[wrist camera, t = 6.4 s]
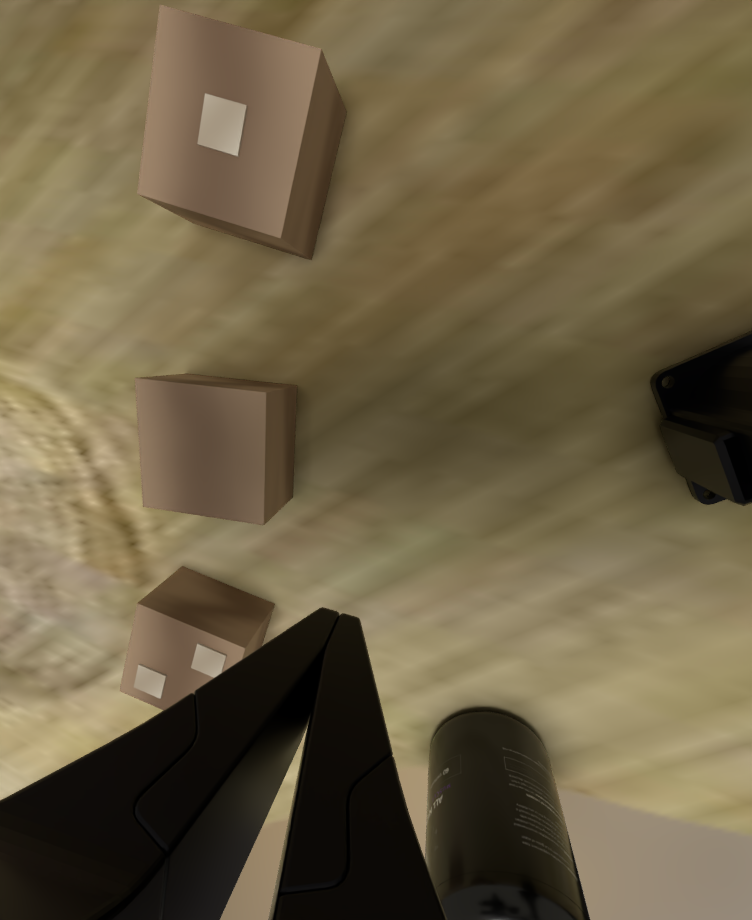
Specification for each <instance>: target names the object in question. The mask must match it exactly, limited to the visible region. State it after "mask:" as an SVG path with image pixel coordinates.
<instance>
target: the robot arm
mask: <svg viewBox="0 0 752 920" xmlns="http://www.w3.org/2000/svg"><path fill="white" fill-rule="evenodd" d="M667 376H668V377H669V379H670V383H669V385H668V386H666V387H663V386H662V380H663V379H664V378H665V377H667ZM651 387H652V389H653V392H654V395H655V397H656V400H657V403H658V405H659V408H660V411H661V413H662V416H663V420H662V421H661V424H660V429H661V432H662V434H663V437H664V440H665V442H666V445H667V448H668V450H669V453H670V455H671V458H672V461H673V463H674V466H675V469H676V471H677V473H678V474H679V475H681V476H683V477H685V478H686V480H687V483H688V485H689V488H690V490H691V493H692V496H693V497H694V499H696V500H697V501H699V502H701V503H703V504H707V505H710V504H714V503H717V502H720V501H723V500H726V499H728V500H730V501H732V502H734V503H737V504H740V505H743V506H745V505H748V504H751V503H752V331H751V332H749V333H746V334H744V335H742V336H740V337H737V338H735V339H733V340H730V341H728V342H726V343H723V344H721V345H719V346H716V347H714V348H712V349H710V350H707V351H705V352H703V353H700V354H698V355H696V356H693V357H691V358H689V359H686V360H684V361H682V362H680V363H677V364H675V365H673V366H670V367H668V368H666V369H663V370H661V371H659V372H658V373H656V374H655V375H654V376H653V378H652V380H651ZM707 489H708V490H710V493H709V495H707V496H704V497H703V493H704V491H705V490H707ZM307 725H308V728H307ZM306 728H307V732H306V737H305V742H304V747H303V752H302V757H301V761H300V766H299V771H298V776H297V781H296V786H295V791H294V796H293V801H292V806H291V811H290V816H289V821H288V826H287V831H286V835H285V840H284V845H283V850H282V855H281V860H280V865H279V870H278V875H277V880H276V885H275V890H274V895H273V900H272V904H271V910H270V915H269V919H268V920H447V918H446V915H445V913H444V910H443V907H442V905H441V902H440V899H439V896H438V894H437V891H436V888H435V886H434V883H433V880H432V877H431V875H430V872H429V869H428V867H427V864H426V861H425V859H424V856H423V853H422V851H421V847H420V844H419V842H418V839H417V836H416V833H415V831H414V827H413V824H412V821H411V818H410V815H409V812H408V809H407V806H406V802H405V798H404V794H403V791H402V787H401V784H400V781H399V776H398V772H397V768H396V764H395V760H394V757H393V756H392V755H393V752H392V748H391V744H390V740H389V736H388V732H387V728H386V724H385V720H384V716H383V712H382V707H381V703H380V699H379V695H378V691H377V687H376V683H375V679H374V675H373V671H372V667H371V662H370V658H369V654H368V650H367V646H366V642H365V638H364V634H363V630H362V626H361V622H360V619H359V618H358V617H355V616H351V615H348V614H344V613H343V614H341V615H339V612H337V611H334V610H330V609H327V608H323V607H322V608H319V609H318V610H316V611H315V612H313V613H312V614H310V615H309V616H307V617H306V618H304V619H303V620H301V621H300V622H298V623H297V624H295V625H293V626H292V627H290V628H289V629H287V630H286V631H284V632H283V633H281V634H280V635H278V636H277V637H275V638H274V639H272V640H271V641H269V642H268V643H266V644H265V645H263V646H262V647H260V648H259V649H257V650H256V651H254V652H253V653H251V654H249V655H248V656H246V657H245V658H243V659H242V660H240V661H239V662H237V663H236V664H234V665H233V666H231V667H230V668H228V669H227V670H225V671H224V672H222V673H221V674H219V675H218V676H216V677H215V678H213V679H212V680H210V681H208V682H207V683H205V684H204V685H202V686H201V687H199V688H198V689H196V690H195V691H194V694H193V693H190V694H188V695H187V696H185V697H184V698H182V699H181V700H179V701H178V702H176V703H175V704H173V705H172V706H170V707H168V708H167V709H165V710H164V711H162V712H160V713H159V714H157V715H156V716H154V717H152V718H151V719H149V720H148V721H146V722H144V723H143V724H141V725H139V726H137V727H136V728H134V729H132V730H130V731H129V732H127V733H125V734H123V735H121V736H120V737H118V738H116V739H114V740H113V741H111V742H109V743H107V744H105V745H104V746H102V747H100V748H98V749H96V750H94V751H92V752H90V753H89V754H87V755H85V756H83V757H81V758H79V759H77V760H76V761H74V762H72V763H70V764H68V765H66V766H64V767H62V768H61V769H59V770H57V771H55V772H53V773H51V774H49V775H47V776H46V777H44V778H42V779H40V780H38V781H36V782H34V783H33V784H31V785H29V786H27V787H25V788H23V789H21V790H19V791H18V792H16V793H14V794H12V795H10V796H8V797H6V798H4V799H2V800H0V920H220V918H221V916H222V913H223V911H224V909H225V907H226V904H227V902H228V900H229V898H230V896H231V894H232V891H233V889H234V887H235V885H236V883H237V880H238V878H239V876H240V873H241V872H242V869H243V867H244V865H245V863H246V861H247V858H248V856H249V854H250V852H251V850H252V848H253V845H254V843H255V841H256V839H257V836H258V834H259V832H260V830H261V828H262V826H263V823H264V821H265V819H266V817H267V815H268V812H269V810H270V808H271V806H272V804H273V801H274V799H275V797H276V795H277V793H278V790H279V788H280V786H281V784H282V782H283V779H284V777H285V775H286V773H287V771H288V768H289V766H290V764H291V762H292V760H293V757H294V755H295V753H296V751H297V749H298V746H299V744H300V742H301V740H302V738H303V735H304V733H305V730H306Z"/></svg>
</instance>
